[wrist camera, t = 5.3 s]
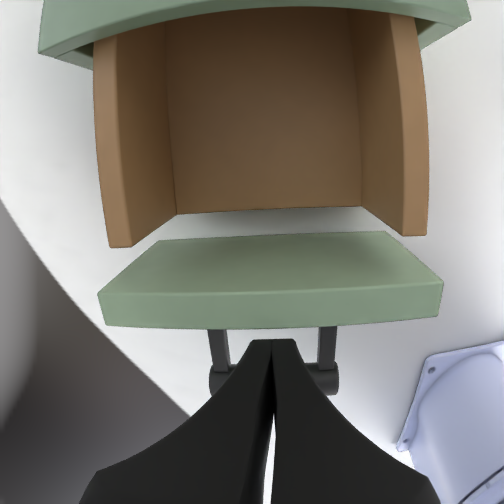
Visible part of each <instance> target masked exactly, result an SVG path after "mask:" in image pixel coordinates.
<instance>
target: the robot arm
mask: <svg viewBox="0 0 504 504" xmlns="http://www.w3.org/2000/svg"><path fill="white" fill-rule="evenodd" d="M432 367H433V368H432ZM430 368H432V369H430ZM429 369H430V370H429ZM273 416H274V420H275V432H276V440H275V456H274V470H273V483H272V494H271V504H504V340H502V341H498V342H494V343H489V344H485V345H480V346H476V347H471V348H466V349H461V350H456V351H450V352H445V353H439V354H433V355H430V356H429V357H428V358H427V359H426V361H425V363H424V367H423V370H422V374H421V377H420V381H419V384H418V387H417V390H416V394H415V397H414V400H413V403H412V406H411V409H410V412H409V414H408V417H407V420H406V423H405V425H404V428H403V431H402V433H401V436H400V439H399V441H398V444H397V446H396V448H397V451H399V452H402V451H407V450H409V452H410V455H411V458H412V461H413V465H414V468H415V470H414V469H412V468H410V467H408V466H406V465H405V464H403V463H401V462H399V461H398V460H396V459H395V458H393V457H392V456H390V455H389V454H387V453H386V452H385V451H383V450H382V449H380V448H379V447H378V446H377V445H375V444H374V443H373V442H372V441H370V440H369V439H368V438H367V437H366V436H364V435H363V434H362V433H361V432H359V431H358V430H357V429H356V428H355V427H354V426H353V425H352V424H351V423H350V422H349V421H348V420H347V419H346V418H345V417H344V416H343V415H342V414H341V413H340V412H339V411H338V410H337V408H336V407H335V406H334V405H333V404H332V403H331V401H330V400H329V399H328V398H327V396H326V395H325V394H324V392H323V391H322V390H321V388H320V387H319V385H318V384H317V383H316V381H315V379H314V378H313V376H312V375H311V373H310V371H309V370H308V368H307V366H306V365H305V363H304V361H303V359H302V357H301V355H300V353H299V350H298V348H297V345H296V342H295V341H294V340H293V339H258V340H252V341H251V342H250V344H249V346H248V348H247V349H246V351H245V353H244V355H243V356H242V358H241V359H240V361H239V362H238V364H237V365H236V367H235V368H234V370H233V371H232V372H231V374H230V375H229V376H228V378H227V379H226V380H225V382H224V383H223V384H222V385H221V386H220V388H219V389H218V390H217V391H216V392H215V393H214V395H213V396H212V397H211V398H210V399H209V400H208V401H207V402H206V403H205V404H204V405H203V406H202V407H201V408H200V409H199V410H198V411H197V412H196V413H195V414H194V415H193V416H191V417H190V418H189V419H188V420H187V421H186V422H184V423H183V424H182V425H180V426H179V427H178V428H177V429H175V430H174V431H173V432H171V433H170V434H169V435H167V436H166V437H164V438H163V439H161V440H160V441H158V442H156V443H155V444H153V445H151V446H150V447H148V448H147V449H145V450H143V451H142V452H140V453H138V454H136V455H134V456H132V457H130V458H128V459H126V460H123V461H121V462H119V463H117V464H114V465H112V466H109V467H107V468H105V469H102V470H99V471H97V472H96V474H95V475H94V477H93V478H92V480H91V481H90V483H89V484H88V486H87V488H86V490H85V492H84V494H83V496H82V498H81V500H80V503H79V504H263V493H264V477H265V469H266V462H267V456H268V450H269V443H270V437H271V430H272V423H273Z"/></svg>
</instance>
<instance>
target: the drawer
mask: <svg viewBox="0 0 504 504" xmlns="http://www.w3.org/2000/svg"><path fill="white" fill-rule="evenodd" d="M93 101H94V124H95V139H96V152H97V162H98V172H99V181H100V189H101V197H102V204H103V211H104V218H105V224H106V230H107V236H108V241H109V246H110V248H128V247H132V246H134V245H135V244H137V243H138V242H139V241H141V240H142V239H143V238H145V237H146V236H148V235H149V234H150V233H152V232H153V231H154V230H156V229H157V228H159V227H160V226H161V225H163V224H164V223H166V222H167V221H169V220H170V219H171V218H173V217H174V216H176V215H180V214H194V213H210V212H226V211H244V210H264V209H287V208H315V207H356V206H362V207H363V208H365V209H366V210H368V211H369V212H370V213H372V214H373V215H375V216H376V217H377V218H379V219H380V220H381V221H383V222H384V223H385V224H387V225H388V226H390V227H391V228H392V229H394V230H395V231H396V232H398V233H399V234H400V235H401V236H425V235H426V234H427V220H428V200H429V138H428V118H427V105H426V94H425V84H424V75H423V68H422V61H421V54H420V48H419V42H418V36H417V31H416V26H415V21H414V17H412V16H406V15H400V14H394V13H388V12H380V11H372V10H363V9H353V8H339V7H316V6H286V7H263V8H249V9H238V10H229V11H221V12H213V13H206V14H200V15H194V16H188V17H183V18H178V19H173V20H168V21H164V22H159V23H155V24H151V25H147V26H143V27H139V28H136V29H132V30H128V31H125V32H122V33H118V34H115V35H112V36H109V37H106V38H103V39H100V40H97V41H94V49H93ZM443 284H444V283H443V280H441V279H440V278H439V277H438V276H437V275H436V274H435V273H434V272H433V271H432V270H430V269H429V268H428V267H427V266H426V265H425V264H424V263H423V262H421V261H420V260H419V259H418V258H417V257H416V256H414V255H413V254H412V253H411V252H410V251H409V250H407V249H406V248H405V247H404V246H403V245H402V244H400V243H399V242H398V241H397V240H396V239H394V238H393V237H392V236H391V235H390V234H388V233H387V232H386V231H370V232H338V233H309V234H283V235H259V236H237V237H215V238H195V239H175V240H159V241H157V242H156V243H155V244H154V245H152V246H151V247H150V248H149V249H148V250H146V251H145V252H144V253H143V254H142V255H140V256H139V257H138V258H137V259H136V260H135V261H133V262H132V263H131V264H130V265H129V266H128V267H126V268H125V269H124V270H123V271H122V272H121V273H119V274H118V275H117V276H116V277H115V278H114V279H113V280H111V281H110V282H109V283H108V284H107V285H106V286H105V287H103V288H102V289H101V290H100V291H99V292H98V299H99V303H100V306H101V310H102V314H103V317H104V321H105V324H106V325H107V326H120V327H139V328H164V329H207V331H208V337H209V344H210V350H211V356H212V362H213V365H212V366H211V369H210V373H209V389H210V393H211V396H213V395H214V393H215V392H216V391H217V390H218V389H219V388H220V386H221V385H222V384H223V383H224V382H225V380H226V379H227V378H228V376H229V375H230V374H231V372H232V371H233V370H234V368H235V367H236V365H237V364H231V362H230V355H229V347H228V339H227V331H226V329H282V328H307V327H319V332H318V354H317V362H315V363H305V365H306V366H307V368H308V370H309V371H310V373H311V375H312V376H313V378H314V379H315V381H316V383H317V384H318V385H319V387H320V388H321V390H322V391H323V392H324V394H325V395H326V396H328V395H336V394H337V392H338V388H339V372H338V366H337V363H336V362H335V361H334V360H335V348H336V336H337V326H342V325H357V324H369V323H381V322H392V321H402V320H411V319H420V318H428V317H436V316H437V315H438V312H439V307H440V302H441V296H442V290H443Z"/></svg>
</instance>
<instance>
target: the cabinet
mask: <svg viewBox="0 0 504 504" xmlns="http://www.w3.org/2000/svg"><path fill="white" fill-rule="evenodd" d="M286 6H316V7H339V8H353V9H363V10H372V11H380V12H388V13H394V14H400V15H406V16H412V17H414V21H415V26H416V31H417V36H418V42H419V48H420V50H422V49H423V48H425V47H427V46H428V45H430V44H432V43H433V42H435V41H437V40H438V39H440V38H442V37H443V36H445V35H447V34H448V33H450V32H452V31H454V30H455V29H457V28H458V27H460V26H462V25H464V24H465V23H467V22H469V21H471V16H470V12H469V8H468V5H467V1H466V0H44V4H43V10H42V17H41V25H40V33H39V43H38V53H39V54H42V55H45V56H49V57H54V58H55V59H58V60H62V61H65V62H68V63H71V64H74V65H78V66H81V67H84V68H87V69H90V70H93V49H94V41H97V40H100V39H103V38H106V37H109V36H112V35H115V34H118V33H122V32H125V31H128V30H132V29H136V28H139V27H143V26H147V25H151V24H155V23H159V22H164V21H168V20H173V19H178V18H183V17H188V16H194V15H200V14H206V13H213V12H221V11H229V10H238V9H249V8H263V7H286Z"/></svg>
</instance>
